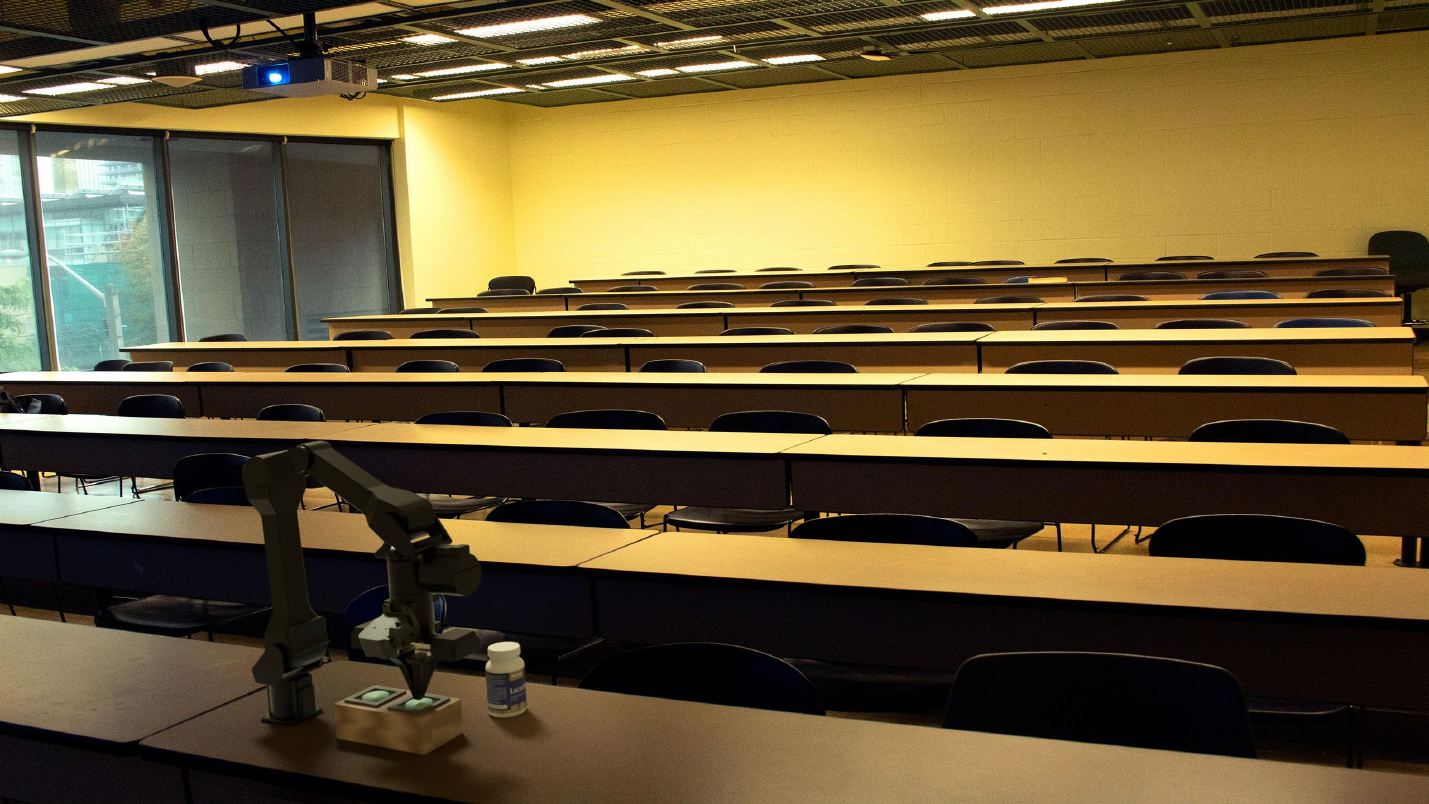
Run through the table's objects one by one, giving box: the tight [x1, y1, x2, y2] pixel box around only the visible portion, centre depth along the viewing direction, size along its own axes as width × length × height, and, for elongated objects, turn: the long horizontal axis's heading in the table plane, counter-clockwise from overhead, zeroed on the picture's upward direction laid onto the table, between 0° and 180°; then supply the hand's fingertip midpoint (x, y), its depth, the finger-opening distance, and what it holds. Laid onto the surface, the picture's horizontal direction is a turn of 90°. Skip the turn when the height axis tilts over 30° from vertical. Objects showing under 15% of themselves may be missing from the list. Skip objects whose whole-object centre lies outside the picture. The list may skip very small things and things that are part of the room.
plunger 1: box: [362, 691, 389, 702], centre depth 161 cm, size 4×4×5 cm
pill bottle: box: [485, 641, 528, 719], centre depth 166 cm, size 6×6×10 cm
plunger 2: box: [406, 698, 432, 710], centre depth 157 cm, size 4×4×5 cm
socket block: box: [333, 684, 464, 756], centre depth 159 cm, size 16×8×5 cm, turn 63°
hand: (419, 699), depth 157 cm, fingers closed
